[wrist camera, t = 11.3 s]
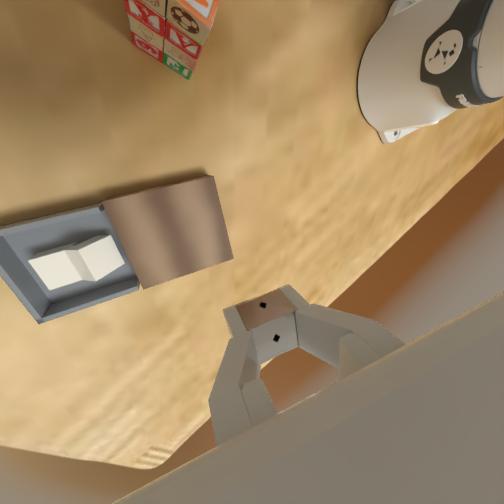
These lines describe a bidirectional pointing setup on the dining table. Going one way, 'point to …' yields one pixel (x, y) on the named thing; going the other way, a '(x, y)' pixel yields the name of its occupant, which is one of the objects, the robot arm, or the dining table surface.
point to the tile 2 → (95, 257)
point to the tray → (52, 236)
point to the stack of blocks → (172, 30)
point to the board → (171, 229)
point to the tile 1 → (55, 267)
